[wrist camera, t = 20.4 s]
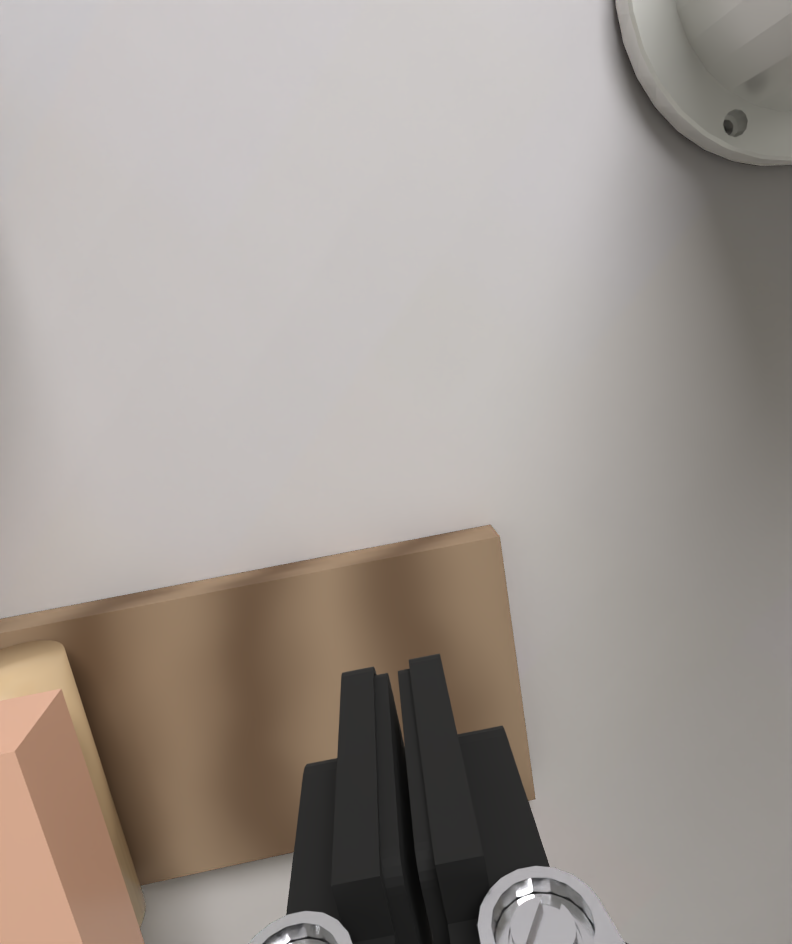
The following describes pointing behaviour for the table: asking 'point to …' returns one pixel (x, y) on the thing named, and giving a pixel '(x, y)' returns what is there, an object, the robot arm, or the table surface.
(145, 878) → the track
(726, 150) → the robot arm
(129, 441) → the table surface
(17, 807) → the pink toy brick
